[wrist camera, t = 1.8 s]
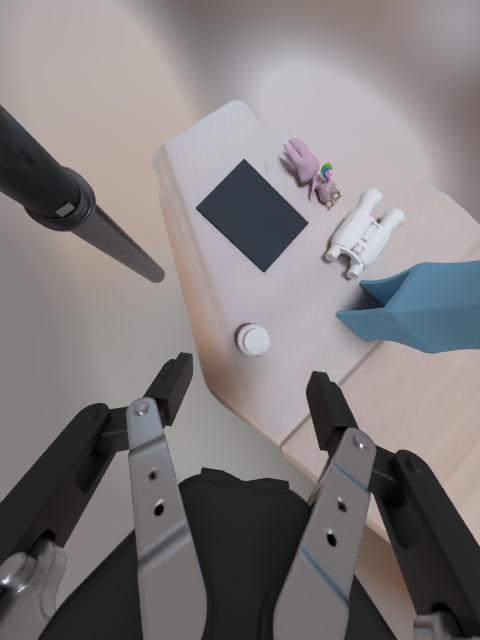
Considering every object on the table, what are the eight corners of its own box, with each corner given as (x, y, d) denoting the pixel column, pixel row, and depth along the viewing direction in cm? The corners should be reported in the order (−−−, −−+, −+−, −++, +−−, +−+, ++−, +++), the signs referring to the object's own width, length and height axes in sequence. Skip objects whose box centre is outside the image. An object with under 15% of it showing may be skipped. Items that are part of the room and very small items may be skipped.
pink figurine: (336, 197, 41) (291, 138, 38) (359, 180, 36) (309, 109, 32) (319, 217, 41) (272, 160, 37) (340, 204, 35) (287, 134, 31)
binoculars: (391, 228, 42) (413, 216, 37) (352, 284, 40) (370, 279, 36) (356, 197, 41) (374, 181, 36) (315, 254, 39) (328, 245, 35)
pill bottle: (241, 318, 37) (249, 317, 28) (264, 330, 38) (281, 333, 28) (229, 342, 37) (233, 350, 27) (252, 354, 37) (265, 366, 28)
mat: (196, 209, 36) (196, 207, 36) (243, 161, 38) (244, 158, 37) (264, 272, 38) (264, 271, 37) (307, 224, 39) (308, 222, 39)
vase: (367, 344, 41) (605, 379, 16) (335, 315, 40) (532, 304, 15) (393, 309, 41) (656, 290, 17) (361, 280, 41) (590, 214, 16)
